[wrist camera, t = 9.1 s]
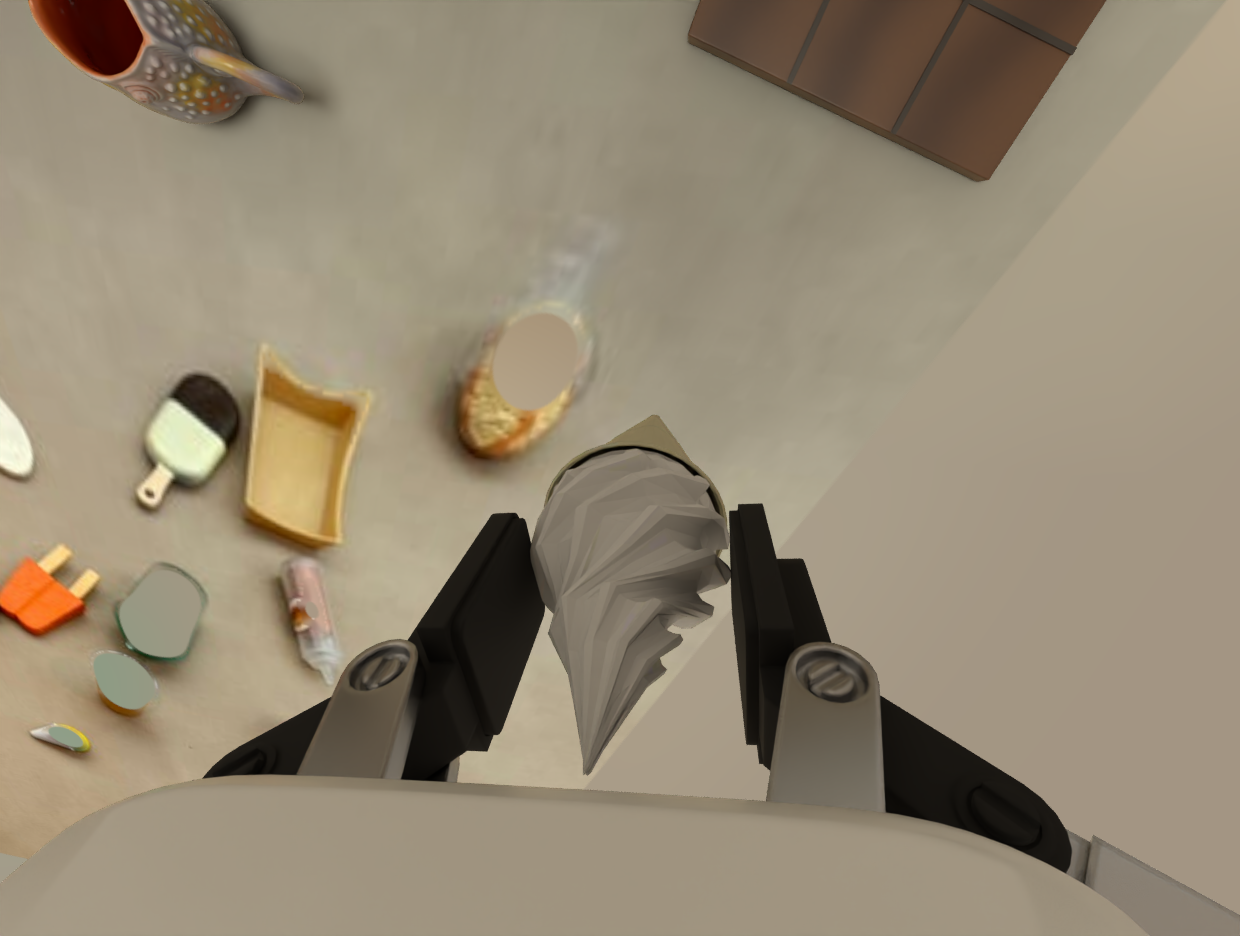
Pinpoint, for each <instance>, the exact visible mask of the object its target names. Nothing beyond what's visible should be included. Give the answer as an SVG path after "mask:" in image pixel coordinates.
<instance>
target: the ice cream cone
mask: <svg viewBox="0 0 1240 936" xmlns="http://www.w3.org/2000/svg"><path fill="white" fill-rule="evenodd" d="M729 542H730V537H729V533H728V530H727V517H726V512H725V507H724V504H723V501H722V499H721V497H720V494H719V492H718V490H717V489H716V487H715V486H714V484H713V483H712V481H711V480H710V478H709V477H708V476H707V475H706V474H705V473H704V472H703V471H702V470H701V469H700V468H699V467H698V466H696V465H695V464H694V463H692V461H691V460H690V459H689V457H688V456H687V455H686V453H685V452H684V450H683V449H682V447H681V446H680V444H679V443H678V442H677V440H676V439H675V438H674V436H673V435H672V433H671V432H670V431H669V429H668V428H667V427H666V425H665V424H664V423H663V421H662V420H661V419H660V417H659V416H657V415H652V416H650V417H648V418H647V419H645V420H643V421H642V422H640V423H639V424H637V425H635V426H634V427H632V428H630V429H629V430H627V431H625V432H624V433H622V434H620V435H619V436H617V437H615V438H614V439H613V440H611V441H610V442H608V443H606V444H605V445H600V446H598V447H595V448H592V449H590V450H587V451H585V452H584V453H582V454H580V455H578V456H577V457H575V458H573V459H572V460H571V461H570V462H569V463H568V464H566V465H565V466H564V467H563V468H562V469H561V470H560V472H559V473H558V474H557V476H556V477H555V478H554V480H553V481H552V483H551V485H550V488H549V490H548V492H547V495H546V500H545V504H544V509H543V511H542V513H541V515H540V516H539V518H538V521H537V525H536V528H535V532H534V536H533V539H532V543H531V548H530V555H531V563H532V567H533V570H534V573H535V577H536V580H537V584H538V587H539V591H540V594H541V598H542V601H543V602H544V604H545V605H546V606H547V608H548V609H549V610H550V611H551V612H552V613H553V614H554V615H553V618H552V622H551V625H550V629H549V632H548V634H549V636H550V638H551V640H552V643H553V645H554V647H555V649H556V651H557V653H558V655H559V657H560V659H561V661H562V663H563V665H564V668H565V670H566V672H567V674H568V677H569V682H570V687H571V693H572V698H573V703H574V709H575V715H576V721H577V727H578V733H579V739H580V745H581V751H582V757H583V774H585V773H586V775H587V776H588V775H589V774H590V773H591V772H592V770H593V768H594V766H595V764H596V763H597V761H598V759H599V757H600V755H601V753H602V752H603V750H604V749H605V747H606V746H607V744H608V743H609V741H610V740H611V739H612V737H613V736H614V734H615V733H616V731H617V730H618V729H619V727H620V726H621V724H622V723H623V721H624V720H625V718H626V717H627V716H628V714H629V713H630V711H631V710H632V708H633V707H634V705H635V704H636V703H637V701H638V700H639V698H640V697H641V695H642V694H643V692H644V691H645V690H646V688H647V687H648V686H650V685H651V684H652V683H653V682H655V681H656V680H657V679H658V678H660V677H661V676H662V675H663V674H665V672H666V670H667V669H666V668H665V667H664V666H663V665H662V663H661V660H660V657H661V656H663V655H665V654H666V653H668V652H669V651H671V650H672V649H674V648H676V647H677V646H679V645H680V644H681V642H682V641H683V638H682V637H681V635H680V634H675V633H671V632H669V631H667V629H668V627H670V626H671V625H674V626H677V627H679V628H682V629H686V628H693V627H695V626H697V625H698V624H700V623H702V622H703V621H705V620H707V619H708V618H710V617H711V616H712V615H713V610H714V607H713V606H712V605H710V604H708V603H706V602H704V601H702V599H701V598H700V596H699V595H698V594H700V593H703V592H706V591H709V590H712V589H715V588H718V587H720V586H723V585H725V584H727V583H728V581H729V579H730V577H731V570H730V568H729V566H728V565H727V564H725V563H724V562H723V561H722V560H721V559H720V558H719V556H720V554H721V552H722V550H723V549H728V547H729ZM584 771H585V772H584Z"/></svg>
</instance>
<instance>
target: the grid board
mask: <svg viewBox="0 0 1240 936" xmlns="http://www.w3.org/2000/svg"><path fill="white" fill-rule="evenodd" d="M1105 2H1106V0H700V2H699V5H698V8H697V11H696V13H695V16H694V19H693V22H692V24H691V27H690V30H689V33H688V42H689V43H690V44H693V45H695V46H697V47H699V48H701V49H703V50H705V51H707V52H709V53H711V54H713V55H715V56H717V57H720V58H722V59H724V60H726V61H728V62H730V63H732V64H734V65H736V66H738V67H740V68H742V69H744V70H746V71H749V72H751V73H753V74H755V75H757V76H759V77H761V78H763V79H765V80H767V81H769V82H771V83H773V84H775V85H778V86H780V87H782V88H784V89H786V90H788V91H790V92H792V93H794V94H796V95H798V96H800V97H802V98H805V99H807V100H809V101H811V102H813V103H815V104H817V105H819V106H821V107H823V108H825V109H827V110H829V111H831V112H834V113H836V114H838V115H840V116H842V117H844V118H846V119H848V120H850V121H852V122H854V123H856V124H858V125H861V126H863V127H865V128H867V129H869V130H871V131H873V132H875V133H877V134H879V135H881V136H883V137H885V138H887V139H890V140H892V141H894V142H896V143H898V144H900V145H902V146H904V147H906V148H908V149H910V150H912V151H914V152H916V153H919V154H921V155H923V156H925V157H927V158H929V159H931V160H933V161H935V162H937V163H939V164H941V165H943V166H946V167H948V168H950V169H952V170H954V171H956V172H958V173H960V174H962V175H964V176H966V177H968V178H970V179H972V180H975V181H977V182H979V181H985V180H989V179H990V177H991V176H992V174H993V172H994V171H995V169H996V168H997V166H998V165H999V163H1000V162H1001V160H1002V159H1003V157H1004V156H1005V154H1006V153H1007V151H1008V150H1009V148H1010V147H1011V145H1012V143H1013V142H1014V140H1015V139H1016V137H1017V136H1018V134H1019V133H1020V131H1021V130H1022V128H1023V127H1024V125H1025V124H1026V122H1027V121H1028V119H1029V118H1030V116H1031V115H1032V113H1033V111H1034V110H1035V108H1036V107H1037V105H1038V104H1039V102H1040V101H1041V99H1042V98H1043V96H1044V95H1045V93H1046V92H1047V90H1048V89H1049V87H1050V86H1051V84H1052V82H1053V81H1054V79H1055V78H1056V76H1057V75H1058V73H1059V72H1060V70H1061V69H1062V67H1063V66H1064V64H1065V63H1066V61H1067V60H1068V58H1069V57H1070V55H1073V53H1074V52H1075V50H1076V48H1077V47H1076V46H1077V44H1078V43H1079V41H1080V40H1081V38H1082V37H1083V35H1084V34H1085V32H1086V31H1087V29H1088V28H1089V26H1090V25H1091V23H1092V22H1093V20H1094V18H1095V17H1096V15H1097V14H1098V12H1099V11H1100V9H1101V8H1102V6H1103V5H1104V3H1105Z"/></svg>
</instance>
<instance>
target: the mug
mask: <svg viewBox="0 0 1240 936" xmlns="http://www.w3.org/2000/svg"><path fill="white" fill-rule="evenodd" d="M28 3H29V7H30V11H31V14H32V16H33V18H34V20H35V22H36V24H37V25H38V26H39V28H40V29H41V31H42V33H43V34H44V35H45V37H46V38H47V39H48V40H49V42H50V43H51V44H52V45H53V46H54V47H55V48H56V49H57V50H58V51H59V52H60V53H61V54H62V55H63V56H64V57H65V58H66V59H68V60H69V61H70V62H71V63H72V64H73V65H74V66H75V67H76V68H78V69H79V70H80V71H82V72H83V73H84V74H86V75H87V76H89V77H91V78H92V79H94V80H96V81H99V82H101V83H103V84H105V85H107V86H109V87H111V88H113V89H115V90H117V91H119V92H121V93H123V94H124V95H126V96H127V97H128V98H130V99H131V100H133V101H135V102H136V103H138V104H140V105H142V106H143V107H145V108H147V109H150V110H152V111H154V112H157V113H159V114H162V115H164V116H167V117H170V118H173V119H176V120H179V121H182V122H186V123H192V124H209V123H215V122H219V121H222V120H225V119H227V118H229V117H231V116H232V115H234V114H235V113H236V112H237V111H238V110H239V109H240V107H241V106H242V105H243V103H244V102H245V101H246V99H247V98H248V97H249V96H252V95H265V96H271V97H276V98H280V99H283V100H287V101H289V102H291V103H294V104H300V103H302V102H303V100H304V93H303V91H302V90H301V88H300V87H299V86H298V85H296V84H294V83H292V82H290V81H288V80H286V79H284V78H282V77H279V76H277V75H275V74H273V73H270V72H268V71H265V70H263V69H261V68H259V67H257V66H256V65H254V64H253V63H251V62H250V61H248V60H247V59H246V58H245V57H244V55H243V53H242V50H241V48H240V46H239V44H238V42H237V40H236V38H235V36H234V35H233V33H232V32H231V31H230V29H229V28H228V27H227V25H226V24H225V23H224V21H223V20H222V19H221V18H220V16H219V15H218V14H217V13H216V12H215V11H214V10H213V9H212V8H211V7H210V6H209V5H208V4H207V3H206V2H205V1H204V0H28Z"/></svg>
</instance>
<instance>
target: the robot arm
mask: <svg viewBox="0 0 1240 936" xmlns="http://www.w3.org/2000/svg"><path fill="white" fill-rule="evenodd" d="M729 525H730V563H731V601H732V616H733V625H734V635H735V644H736V653H737V663H738V672H739V681H740V690H741V700H742V709H743V719H744V727H745V738H746V744H747V745H757V750H758V758H759V764H763V765H764V766H765V767H767V768H768V769H769V770H770V776H769V783H768V790H767V797H766V801H755V800H742V799H726V798H710V797H693V796H677V795H661V794H646V793H630V792H614V791H597V790H580V789H562V788H545V787H528V786H510V785H492V784H474V783H457V778H458V771H459V765H460V762H459V756H460V755H462V754H463V753H465V752H466V751H488V748H489V746H490V743H491V740H492V738H493V735H498V734H500V732H501V731H502V729H503V726H504V723H505V721H506V718H507V715H508V712H509V710H510V707H511V704H512V701H513V699H514V696H515V693H516V691H517V688H518V685H519V682H520V680H521V677H522V674H523V671H524V669H525V666H526V663H527V661H528V658H529V655H530V652H531V650H532V647H533V644H534V641H535V639H536V636H537V633H538V631H539V628H540V625H541V622H542V620H543V617H544V612H545V604H544V602H543V601H542V598H541V594H540V591H539V587H538V584H537V580H536V577H535V573H534V570H533V567H532V563H531V555H530V548H531V541H530V537H529V533H528V529H527V524H526V521H525V519H523V518H519V517H518V515H517V514H516V513H496V514H492V515H491V517H490V518H489V520H488V521H487V523H486V524H485V526H484V527H483V529H482V530H481V532H480V533H479V535H478V536H477V538H476V539H475V541H474V542H473V544H472V545H471V547H470V548H469V549H468V551H467V552H466V554H465V555H464V557H463V558H462V560H461V561H460V563H459V564H458V566H457V567H456V569H455V570H454V572H453V573H452V575H451V576H450V578H449V579H448V581H447V582H446V584H445V585H444V587H443V588H442V590H441V591H440V593H439V594H438V596H437V597H436V599H435V600H434V602H433V603H432V605H431V606H430V608H429V609H428V610H427V612H426V613H425V615H424V616H423V618H422V619H421V621H420V622H419V624H418V625H417V627H416V628H415V630H414V631H413V633H412V634H411V636H410V637H409V639H408V640H402V639H395V640H388V641H385V642H381V643H378V644H376V645H374V646H372V647H370V648H368V649H366V650H365V651H363V652H362V653H360V654H359V655H358V656H356V657H355V658H354V659H353V660H352V661H351V662H350V663H349V664H348V665H347V667H346V668H345V670H344V672H343V673H342V675H341V677H340V679H339V682H338V684H337V686H336V688H335V690H334V693H333V695H332V697H330V698H328V699H326V700H324V701H323V702H321V703H319V704H317V705H315V706H313V707H311V708H310V709H308V710H306V711H304V712H302V713H300V714H299V715H297V716H295V717H293V718H291V719H289V720H287V721H286V722H284V723H282V724H280V725H278V726H276V727H274V728H273V729H271V730H269V731H267V732H265V733H263V734H262V735H260V736H258V737H256V738H254V739H252V740H250V741H249V742H247V743H245V744H243V745H241V746H239V747H238V748H236V749H235V750H233V751H232V752H230V753H229V754H227V755H225V756H224V757H223V758H222V759H221V760H220V761H218V762H217V763H216V764H215V765H214V766H213V767H212V768H211V769H210V770H209V771H208V772H207V773H206V775H205V776H204V777H203V778H202V779H197V780H192V781H188V782H183V783H178V784H173V785H168V786H163V787H160V788H157V789H154V790H150V791H147V792H144V793H141V794H138V795H135V796H131V797H128V798H126V799H123V800H121V801H118V802H116V803H114V804H111V805H109V806H107V807H104V808H102V809H100V810H98V811H96V812H94V813H92V814H90V815H88V816H86V817H84V818H82V819H81V820H79V821H78V822H76V823H74V824H73V825H71V826H69V827H68V828H66V829H65V830H64V831H62V832H61V833H60V834H58V835H57V836H56V837H54V838H53V839H52V840H50V841H49V842H48V843H47V844H45V845H44V846H43V847H42V848H41V849H40V850H38V851H37V852H36V853H35V854H34V855H32V856H31V857H30V858H29V859H28V860H27V861H26V862H24V863H23V864H22V865H21V866H20V867H19V868H17V869H16V870H15V871H14V872H13V873H11V874H10V875H9V876H8V877H7V878H6V879H5V880H4V881H3V882H2V883H0V936H1240V915H1239V914H1237V913H1235V912H1233V911H1231V910H1229V909H1227V908H1226V907H1224V906H1222V905H1220V904H1218V903H1217V902H1215V901H1213V900H1211V899H1209V898H1207V897H1206V896H1204V895H1202V894H1200V893H1198V892H1196V891H1195V890H1193V889H1191V888H1189V887H1187V886H1186V885H1184V884H1182V883H1180V882H1178V881H1176V880H1174V879H1172V878H1171V877H1169V876H1167V875H1165V874H1164V873H1162V872H1160V871H1158V870H1156V869H1154V868H1153V867H1150V866H1149V865H1147V864H1145V863H1143V862H1142V861H1140V860H1138V859H1136V858H1134V857H1133V856H1130V855H1129V854H1127V853H1125V852H1123V851H1122V850H1120V849H1118V848H1116V847H1114V846H1112V845H1111V844H1109V843H1107V842H1105V841H1103V840H1101V839H1099V838H1098V837H1096V836H1094V835H1093V836H1092V839H1091V841H1090V842H1088V841H1087V840H1085V839H1083V838H1081V837H1079V836H1078V835H1076V834H1074V833H1072V832H1070V831H1069V830H1067V829H1065V827H1064V826H1063V824H1062V823H1061V821H1060V819H1059V818H1058V816H1057V815H1056V813H1055V812H1054V811H1053V810H1052V809H1051V808H1050V807H1049V806H1048V805H1047V804H1046V803H1045V801H1044V800H1043V799H1042V798H1041V797H1039V796H1038V795H1037V794H1036V793H1034V792H1033V791H1031V790H1030V789H1029V788H1028V787H1026V786H1025V785H1024V784H1022V783H1020V782H1019V781H1017V780H1016V779H1014V778H1013V777H1011V776H1009V775H1008V774H1006V773H1004V772H1003V771H1001V770H1000V769H998V768H996V767H995V766H993V765H991V764H990V763H988V762H987V761H985V760H983V759H982V758H980V757H979V756H977V755H975V754H974V753H972V752H971V751H969V750H967V749H966V748H964V747H962V746H961V745H959V744H958V743H956V742H955V741H953V740H951V739H950V738H948V737H946V736H945V735H943V734H942V733H940V732H938V731H937V730H935V729H933V728H932V727H930V726H929V725H927V724H925V723H924V722H922V721H921V720H919V719H917V718H916V717H914V716H913V715H911V714H909V713H908V712H906V711H905V710H903V709H901V708H900V707H898V706H896V705H895V704H893V703H892V702H890V701H888V700H887V699H885V698H884V697H882V696H880V689H879V681H878V678H877V674H876V672H875V670H874V669H873V667H872V666H871V665H870V663H869V662H868V661H867V660H865V659H864V658H863V657H862V656H861V655H859V654H858V653H857V652H855V651H853V650H851V649H849V648H847V647H845V646H841V645H838V644H835V643H831V640H830V637H829V634H828V631H827V628H826V625H825V622H824V619H823V616H822V613H821V610H820V607H819V604H818V601H817V598H816V595H815V592H814V589H813V587H812V583H811V580H810V577H809V574H808V571H807V568H806V565H805V563H804V560H803V559H777V558H776V555H775V551H774V547H773V543H772V539H771V535H770V531H769V527H768V523H767V519H766V515H765V511H764V507H763V504H738V510H737V511H729Z"/></svg>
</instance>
